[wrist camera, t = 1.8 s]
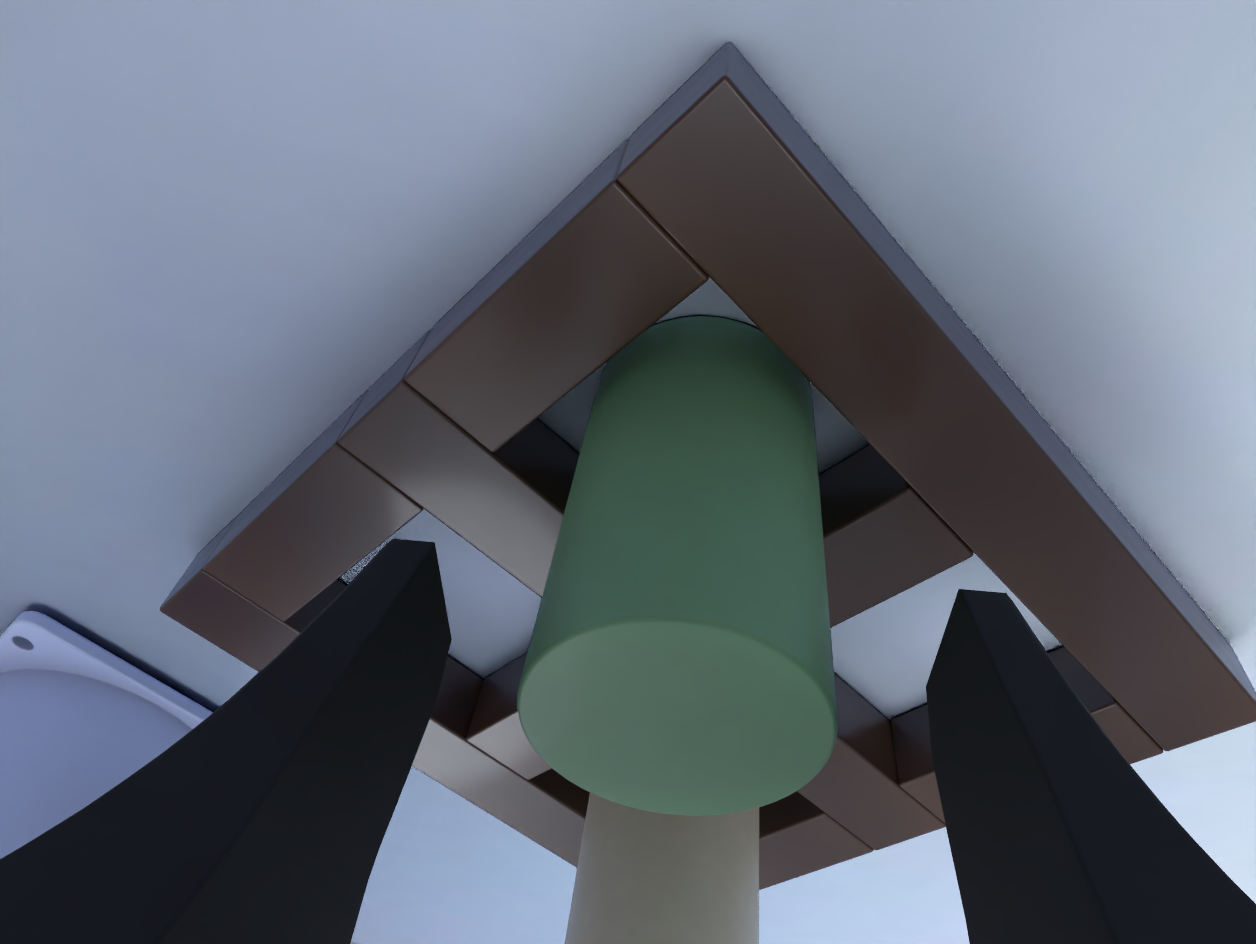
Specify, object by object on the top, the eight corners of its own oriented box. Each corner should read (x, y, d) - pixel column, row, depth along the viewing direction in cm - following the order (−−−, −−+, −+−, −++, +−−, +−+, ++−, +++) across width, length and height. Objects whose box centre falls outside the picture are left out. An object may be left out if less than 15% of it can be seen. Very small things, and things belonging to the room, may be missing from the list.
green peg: (694, 525, 18) (666, 847, 13) (551, 400, 17) (451, 705, 11) (857, 422, 16) (905, 753, 11) (712, 270, 15) (684, 565, 9)
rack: (670, 862, 27) (665, 923, 25) (198, 553, 21) (157, 610, 19) (1232, 646, 19) (1269, 717, 17) (729, 39, 13) (725, 74, 11)
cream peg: (675, 795, 25) (650, 1091, 19) (569, 721, 23) (509, 1020, 18) (792, 744, 23) (802, 1059, 17) (684, 660, 21) (657, 975, 16)
